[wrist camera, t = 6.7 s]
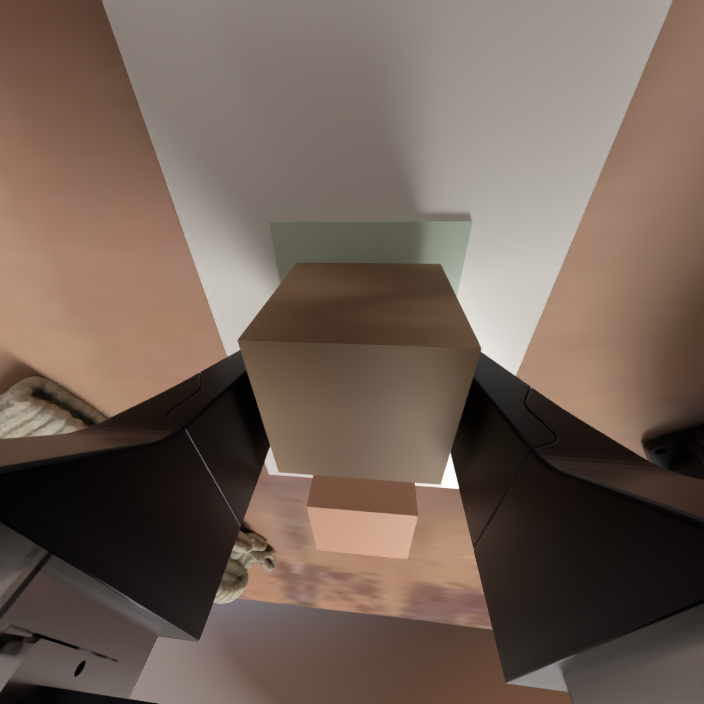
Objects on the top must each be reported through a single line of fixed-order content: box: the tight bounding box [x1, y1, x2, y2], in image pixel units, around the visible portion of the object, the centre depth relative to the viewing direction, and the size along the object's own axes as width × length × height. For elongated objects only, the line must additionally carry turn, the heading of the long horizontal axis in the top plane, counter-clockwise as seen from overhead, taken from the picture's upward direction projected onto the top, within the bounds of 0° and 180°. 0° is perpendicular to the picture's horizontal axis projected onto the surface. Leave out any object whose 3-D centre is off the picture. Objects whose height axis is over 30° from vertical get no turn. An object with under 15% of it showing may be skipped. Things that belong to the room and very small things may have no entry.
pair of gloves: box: [0, 376, 277, 604], centre depth 26 cm, size 30×26×5 cm
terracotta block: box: [307, 475, 418, 559], centre depth 15 cm, size 4×4×4 cm
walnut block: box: [237, 263, 482, 485], centre depth 8 cm, size 4×4×4 cm
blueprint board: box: [102, 0, 673, 489], centre depth 11 cm, size 25×13×1 cm, turn 1°
